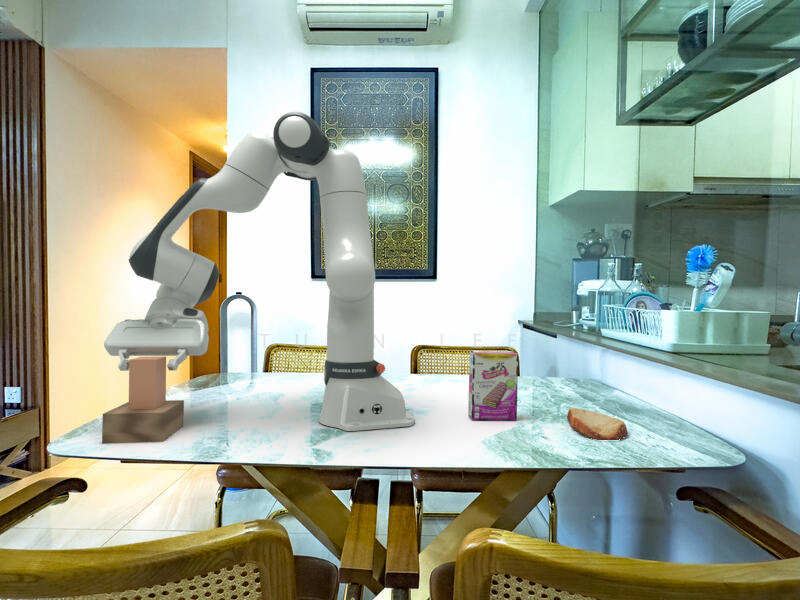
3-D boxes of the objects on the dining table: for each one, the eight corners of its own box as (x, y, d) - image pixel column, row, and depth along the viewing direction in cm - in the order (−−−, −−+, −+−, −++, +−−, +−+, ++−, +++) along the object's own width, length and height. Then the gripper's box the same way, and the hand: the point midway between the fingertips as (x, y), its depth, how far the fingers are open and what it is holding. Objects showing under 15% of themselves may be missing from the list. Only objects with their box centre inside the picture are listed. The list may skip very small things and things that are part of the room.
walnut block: (183, 427, 95) (183, 400, 95) (163, 443, 84) (163, 412, 84) (129, 428, 93) (130, 401, 93) (102, 445, 82) (102, 413, 82)
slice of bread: (575, 414, 111) (575, 400, 111) (650, 431, 96) (650, 415, 96) (533, 425, 100) (533, 409, 100) (609, 446, 85) (609, 427, 85)
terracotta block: (165, 403, 91) (166, 356, 91) (155, 408, 86) (155, 359, 86) (140, 403, 91) (141, 356, 91) (128, 409, 86) (129, 359, 86)
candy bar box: (472, 421, 102) (472, 352, 102) (467, 415, 107) (468, 350, 107) (518, 421, 102) (519, 352, 102) (512, 416, 107) (512, 350, 107)
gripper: (113, 310, 95) (86, 359, 85) (210, 311, 98) (195, 359, 88) (123, 329, 99) (98, 378, 90) (215, 329, 102) (201, 377, 92)
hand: (147, 369), depth 89 cm, fingers open, 8 cm apart
